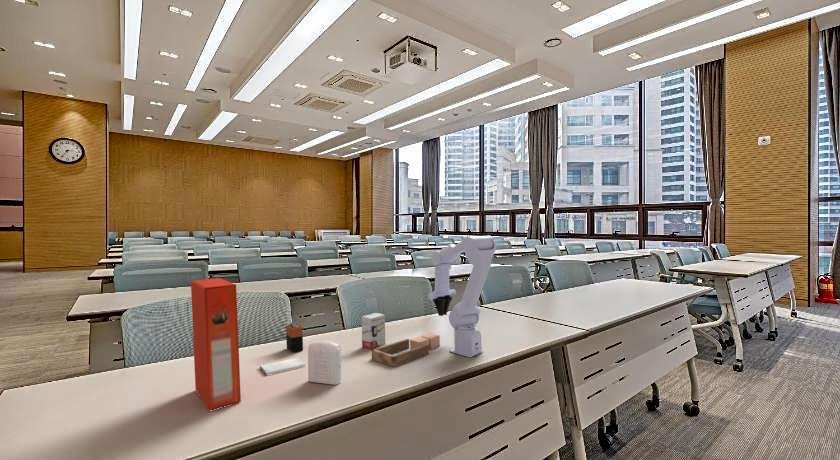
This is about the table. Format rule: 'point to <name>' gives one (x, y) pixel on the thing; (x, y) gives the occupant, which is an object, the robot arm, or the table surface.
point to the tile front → (418, 342)
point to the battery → (294, 337)
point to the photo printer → (324, 362)
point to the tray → (385, 353)
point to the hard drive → (282, 366)
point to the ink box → (373, 330)
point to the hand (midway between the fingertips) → (442, 315)
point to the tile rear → (432, 340)
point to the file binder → (216, 342)
